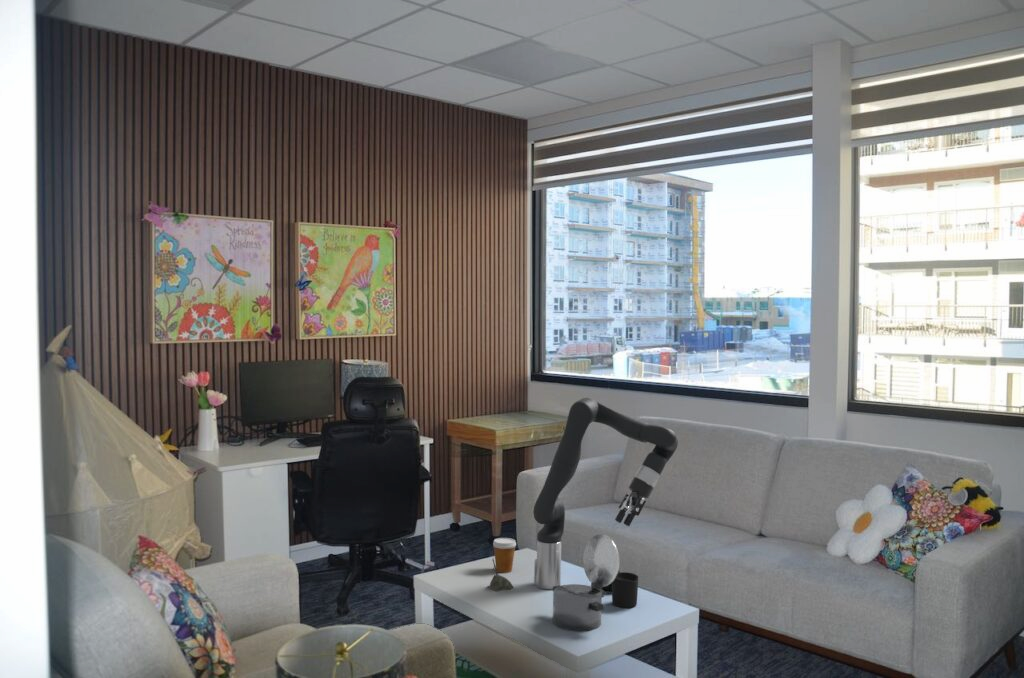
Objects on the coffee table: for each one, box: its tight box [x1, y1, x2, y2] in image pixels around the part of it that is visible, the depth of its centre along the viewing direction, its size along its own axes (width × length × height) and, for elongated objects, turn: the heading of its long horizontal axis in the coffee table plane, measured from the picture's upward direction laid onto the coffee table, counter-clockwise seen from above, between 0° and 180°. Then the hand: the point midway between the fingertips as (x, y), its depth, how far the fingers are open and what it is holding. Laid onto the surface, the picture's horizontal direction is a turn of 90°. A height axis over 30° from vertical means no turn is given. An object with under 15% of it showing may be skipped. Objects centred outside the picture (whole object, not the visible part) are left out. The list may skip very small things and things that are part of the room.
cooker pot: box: [552, 583, 605, 632], centre depth 261 cm, size 17×23×10 cm
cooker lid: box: [582, 534, 621, 589], centre depth 267 cm, size 18×17×3 cm
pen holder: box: [611, 571, 639, 609], centre depth 279 cm, size 9×9×10 cm
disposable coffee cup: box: [492, 537, 517, 574], centre depth 317 cm, size 10×10×12 cm
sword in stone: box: [486, 558, 515, 592], centre depth 295 cm, size 10×8×12 cm
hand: (621, 523), depth 268 cm, fingers open, 8 cm apart
